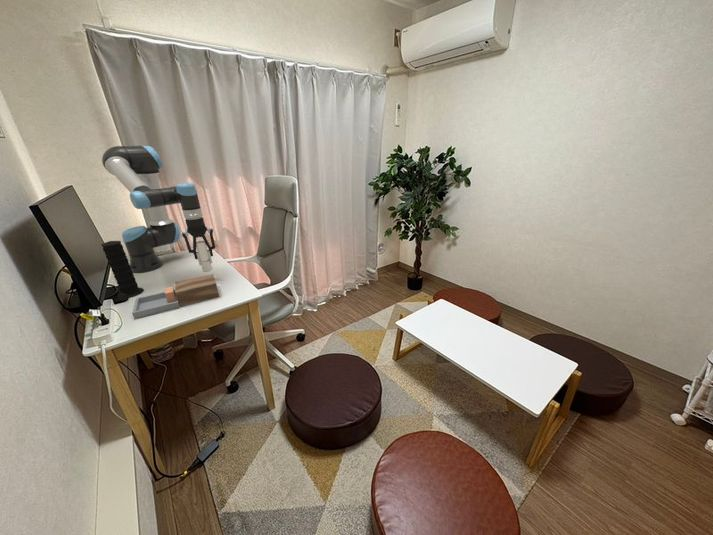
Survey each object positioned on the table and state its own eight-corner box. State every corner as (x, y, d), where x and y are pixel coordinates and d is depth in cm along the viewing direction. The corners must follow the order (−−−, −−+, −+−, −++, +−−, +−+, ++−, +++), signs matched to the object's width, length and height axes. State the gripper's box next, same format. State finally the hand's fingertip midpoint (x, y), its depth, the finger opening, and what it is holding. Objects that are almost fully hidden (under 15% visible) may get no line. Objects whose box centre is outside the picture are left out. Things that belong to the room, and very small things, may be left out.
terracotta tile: (176, 297, 127) (169, 299, 125) (173, 286, 124) (165, 287, 123) (176, 303, 122) (168, 305, 121) (172, 291, 119) (164, 293, 118)
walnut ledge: (179, 295, 130) (175, 282, 127) (216, 286, 137) (213, 274, 134) (179, 306, 120) (175, 293, 117) (219, 297, 128) (216, 283, 125)
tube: (203, 272, 137) (196, 244, 131) (202, 269, 140) (194, 241, 134) (213, 270, 139) (206, 242, 133) (211, 267, 142) (204, 240, 136)
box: (138, 303, 123) (135, 298, 122) (179, 294, 131) (177, 288, 129) (134, 319, 112) (131, 313, 111) (179, 307, 120) (177, 302, 118)
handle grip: (132, 298, 127) (149, 288, 136) (110, 245, 116) (130, 237, 125) (112, 298, 128) (130, 287, 137) (89, 244, 117) (110, 237, 126)
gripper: (172, 222, 122) (186, 270, 131) (215, 216, 130) (225, 262, 139) (172, 218, 128) (186, 264, 137) (213, 213, 136) (223, 257, 145)
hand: (206, 263), depth 138 cm, fingers closed on tube, 4 cm apart
